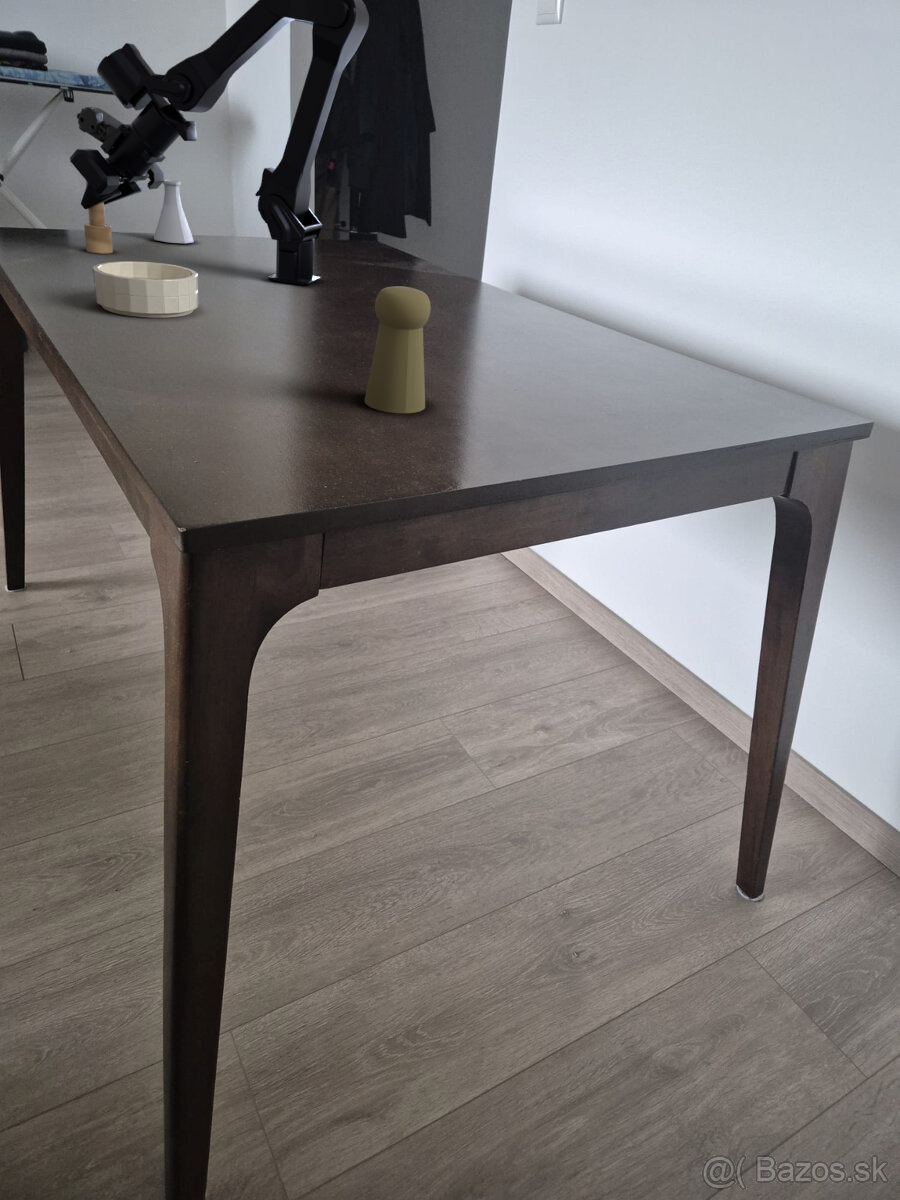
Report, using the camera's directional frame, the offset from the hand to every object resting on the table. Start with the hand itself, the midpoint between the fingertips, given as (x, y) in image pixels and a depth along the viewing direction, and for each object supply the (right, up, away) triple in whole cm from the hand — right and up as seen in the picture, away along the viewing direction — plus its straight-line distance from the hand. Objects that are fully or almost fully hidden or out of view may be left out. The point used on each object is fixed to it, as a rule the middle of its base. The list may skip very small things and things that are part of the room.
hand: (88, 206), depth 138 cm
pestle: (+1, -6, +3) cm, 7 cm away
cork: (+52, -43, -52) cm, 85 cm away
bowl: (+19, -25, -27) cm, 42 cm away
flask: (+7, +3, +20) cm, 22 cm away
